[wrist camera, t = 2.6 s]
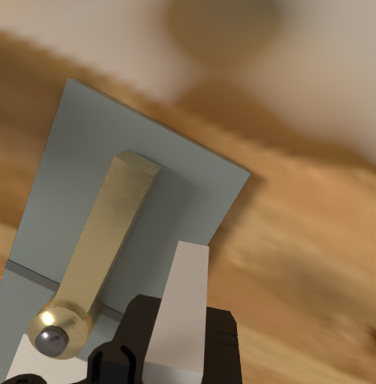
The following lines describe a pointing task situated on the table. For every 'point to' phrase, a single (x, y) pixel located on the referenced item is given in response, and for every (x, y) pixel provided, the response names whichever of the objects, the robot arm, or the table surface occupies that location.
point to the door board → (81, 208)
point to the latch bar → (93, 259)
